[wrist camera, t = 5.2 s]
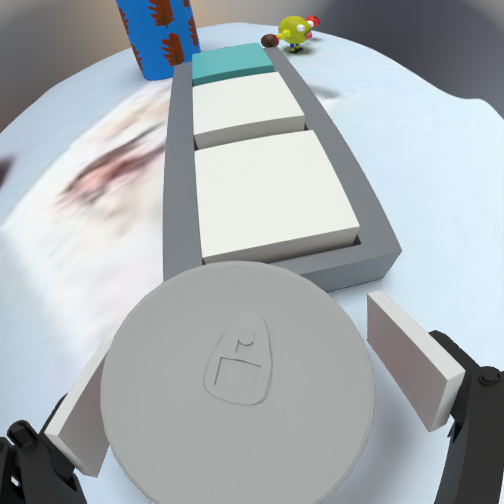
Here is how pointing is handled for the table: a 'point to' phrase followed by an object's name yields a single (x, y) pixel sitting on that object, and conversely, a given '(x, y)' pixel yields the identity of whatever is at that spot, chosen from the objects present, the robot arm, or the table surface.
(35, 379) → the table surface
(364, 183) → the keypad frame
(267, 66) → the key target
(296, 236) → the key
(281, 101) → the key middle
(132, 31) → the thermos
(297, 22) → the toy figure
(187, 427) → the canned food
